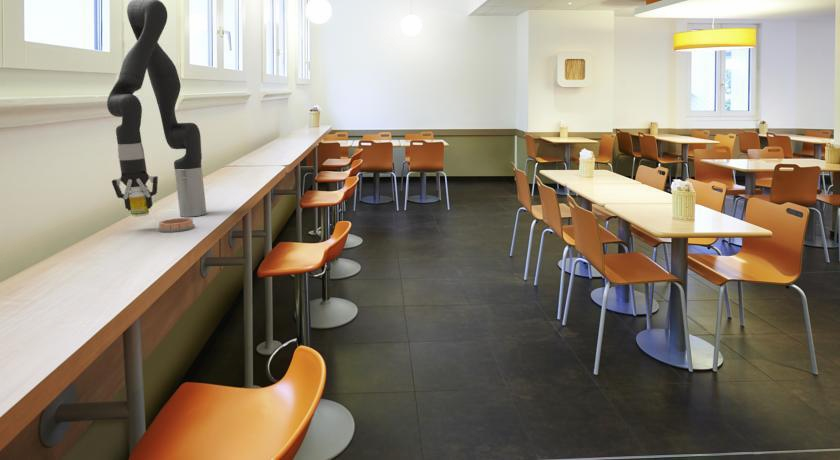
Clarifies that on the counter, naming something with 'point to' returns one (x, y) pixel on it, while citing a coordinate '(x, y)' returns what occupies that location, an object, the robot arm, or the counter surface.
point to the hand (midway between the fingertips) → (139, 208)
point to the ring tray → (176, 225)
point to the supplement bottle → (138, 202)
